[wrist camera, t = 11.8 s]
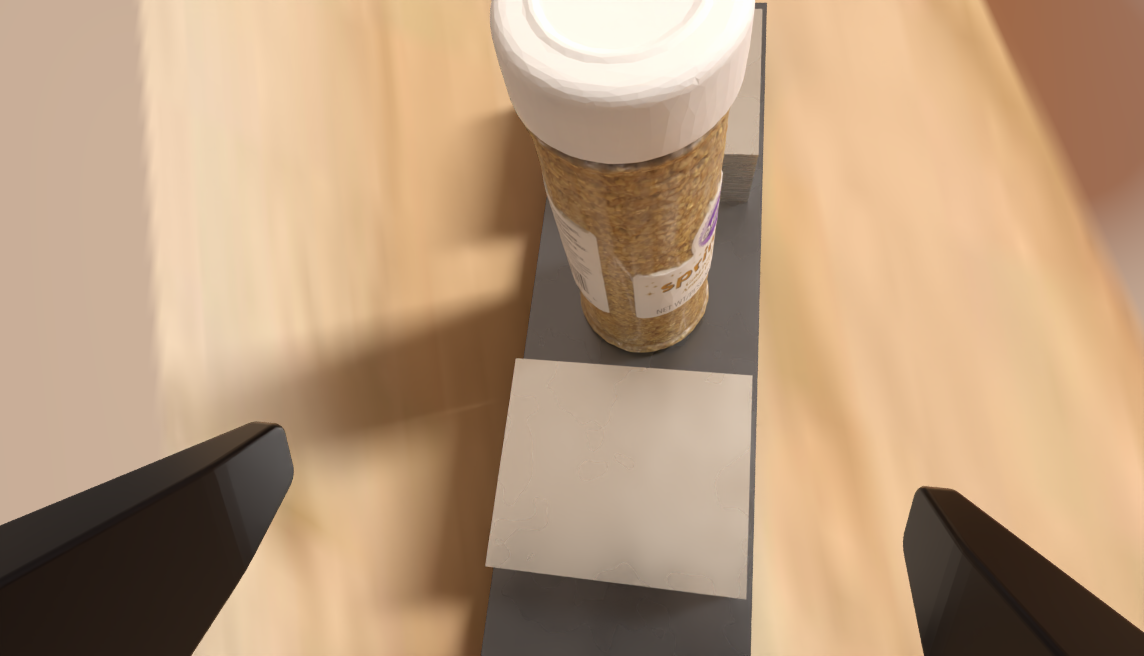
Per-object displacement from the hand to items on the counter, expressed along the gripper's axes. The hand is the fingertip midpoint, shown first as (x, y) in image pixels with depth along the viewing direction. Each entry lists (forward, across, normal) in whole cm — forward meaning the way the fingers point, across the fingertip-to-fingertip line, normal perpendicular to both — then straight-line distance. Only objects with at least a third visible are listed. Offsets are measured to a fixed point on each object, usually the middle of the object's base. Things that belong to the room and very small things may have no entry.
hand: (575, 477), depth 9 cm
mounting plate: (+15, 0, +4) cm, 16 cm away
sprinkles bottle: (+14, 0, +3) cm, 15 cm away
